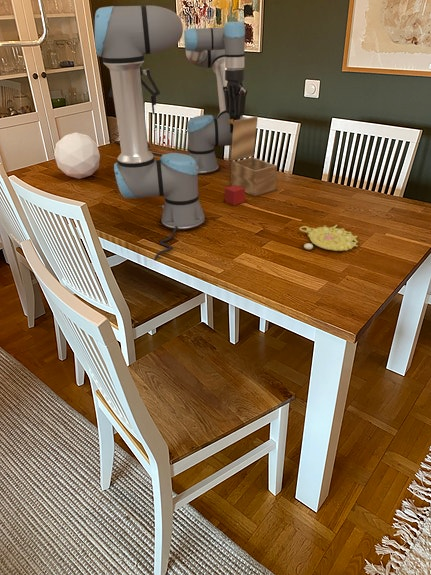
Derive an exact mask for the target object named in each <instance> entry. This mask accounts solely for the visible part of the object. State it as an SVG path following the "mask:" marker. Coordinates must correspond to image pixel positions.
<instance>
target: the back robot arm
mask: <svg viewBox="0 0 431 575" xmlns="http://www.w3.org/2000/svg"><path fill="white" fill-rule="evenodd" d="M183 37H184V38H183V40H184V50H185V57H186V59H187V61H188V62H189V63H190V64H192V65H194V66H195V67H199V68H202V69H209V68H210V69H212V71H213V73H214V74H215V76H216V81H217V82H216V84H217V85H216V86H217V95H218V96H217V97H218V106H219V113H218V114H217V117H216V118H214V116H213V115H212V114H202V115H201V114H200V115H198V116H197V115H196V116H194V117H192V118H190V119H188V120H187V122H186V126H187V127H186V128H187V129H186V132H187V142H188V143H187V144H188V145H187V146H188V148H187V149H188V154H187V155H188V156H191V157H192V158H194V159H195V161H196V163H197V171H198V174H197V175H210V174H214V173H216V172H217V171H219V168H220V167H219V166H220V165H219V162H218V159H217V156H216V153H215V147H228V146H231V147H232V137H233V124H229V123H228V120H230V119H233V122H234V120H240V118H242V119H245V118H247V117H246V116H244V115H245V110H246V109H245V108H246V100H247V99H246V98H247V94H248V89H245V88H244V85H243V84H244V83H243V81H244V80H245V77H246V76H245V72H246V71H245V69H244V68H245V48H246V47H245V46H246V44H245V43H246V26H245V23H244V22H243V21H227V22H225V23H224V26H223V27H202V28H201V27H200V28H199V27H198V28H197V27H196V28H194V27H192V28H186V29H185V30H183ZM111 141H113V142H114V143H116V144H118V145H119V146H120V141H116V140H115V139H114V138H109V139H108V142H111ZM151 153H152V154H153V155H154V156H160V157H161V156H162V155H163V154H162V153H156V152H151Z"/></svg>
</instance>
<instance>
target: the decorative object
mask: <svg viewBox="0 0 431 575" xmlns="http://www.w3.org/2000/svg"><path fill="white" fill-rule="evenodd" d="M303 228H304V229H305V230H304V229H303ZM299 231H300V232H303V233H305V234H307V237H308V238H309V240H310V241H311V243H304V244H303V248H304V249H305V250H313V249H314V245H315V246H316V247H318V248H321V249H324V250H328V251H335V252H341V251H348V250H352V249H354V247H356V248H358V247H359V245H358V244H357V243H359V240H357V238H359V237H358V235H353V234H352V231H347V230H346V229H345V228H344V227H342V228H338V224H335V225H333V226H331V227H328V226H327V225H326V224H325V225H323V226H322V227H321V226H317V227H316V228H314V227H309V226H308V225H302V226H300V227H299ZM313 244H314V245H313Z"/></svg>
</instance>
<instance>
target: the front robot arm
mask: <svg viewBox="0 0 431 575" xmlns="http://www.w3.org/2000/svg"><path fill="white" fill-rule="evenodd" d="M183 35H184V25H183V23H182V19H181V18H180V16H179V15H178V14H177V13H176V12H174V11H173V10H172V9H169V8H165V7H163V6H158V5H148V4H147V5H127V6H126V5H119V6H117V5H116V6H114V5H111V6H103V7H98V9H97V10H96V11H95V14H94V44H95V45H94V46H95V54H96V55H97V57H100V58H101V57H102V63H103V65H104V66H106V68H108V70H109V75H110V80H111V84H110V89H109V92H108V96H107V97H108V98H112V99H113V103H114V104H113V105H114V110H115V117H116V124H117V130H118V131H117V132H118V138H119V143H120V145H119V146H120V154H119V155H118V156H117V158H116V159H117V162H115V163H114V164H113V170H114V175H115V181H116V184H117V187H118V190H119V192H120V194H121V196H122V197H123V198H125V199H136V200H137V199H144V198H157V197H164V204H162V205H161V207H162V213H161V219H160V220H161V225H162V227H163V228H165V229H167V230H170V231H172V232H171V235H170V236H169V237H168V238H164V239H161V240H160V241H159V243H160V245H161V246H164V247H166V249H163V250H160V251H158V252H157V253H156V255H155V256H154V258H153V261H157V260H158V257H159V256H160V255H162V254H164V253H168V252H170V251H171V250H172V246H171V245H170V244H167V243H164V242H169V241H171V240H172V239H173V238H174V235H175V233H176V231H177V232H185V231H186V232H187V231H192V230H195V229H198V228H201V227H202V226H203V225H204V224H205V223H206V216H205V212H204V210H203V208H202V204H201V202H200V196H199V180H198V175H199V174H198V171H197V163H196V161H195V159H194V158H192V157H191V156H188V155H189V154H184V153H178V152H170V153H169V152H168V153H163V154H162V156H160V159H157V160H156V159H155V155H153V154H152V153H153V152H151V151H150V149H149V148H148V143H149V141H148V134H147V132H148V131H147V125H146V124H147V123H146V113H145V106H144V97H143V96H144V95H143V87H144V88H145V89H146V90H147V91H148V93H150V101H151V111H152V115H155V106H156V105H157V96H158V95H160V94H161V91H160V89H159V87H158V86H157V84H156V82H155V81H154V79H153V77H152V75H151V72H150V69H149V68H146V69H143V68H142V65H143V64H144V63H145V56H144V55H150V54H152V55H153V54H159V53H163V52H166V51H168V50H170V49H172V48H174V47H175V46H177V45H178V43H180V42H181V39H182V37H183ZM143 75H144V76H146V77H147V79H148V80H149V82H150V84H151V85H152V88H153V89H152V88H151V87H150V85H149V84H148V83H147V82H146V81H145V80H144V79H143V78H142V76H143Z"/></svg>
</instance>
